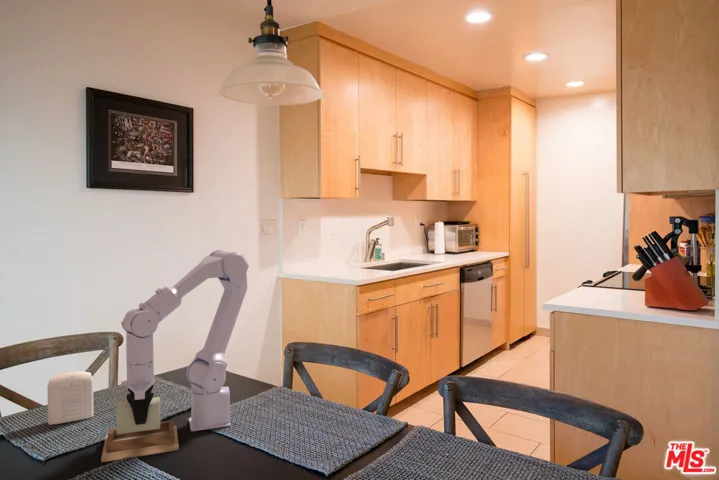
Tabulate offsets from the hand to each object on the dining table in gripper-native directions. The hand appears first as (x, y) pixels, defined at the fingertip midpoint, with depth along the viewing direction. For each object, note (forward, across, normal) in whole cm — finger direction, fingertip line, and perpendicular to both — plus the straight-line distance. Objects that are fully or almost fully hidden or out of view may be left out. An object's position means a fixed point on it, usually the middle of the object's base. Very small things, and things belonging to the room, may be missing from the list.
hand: (141, 419), depth 118 cm
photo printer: (+6, -21, -17) cm, 28 cm away
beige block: (+2, 0, 0) cm, 2 cm away
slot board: (+6, 0, 0) cm, 6 cm away
